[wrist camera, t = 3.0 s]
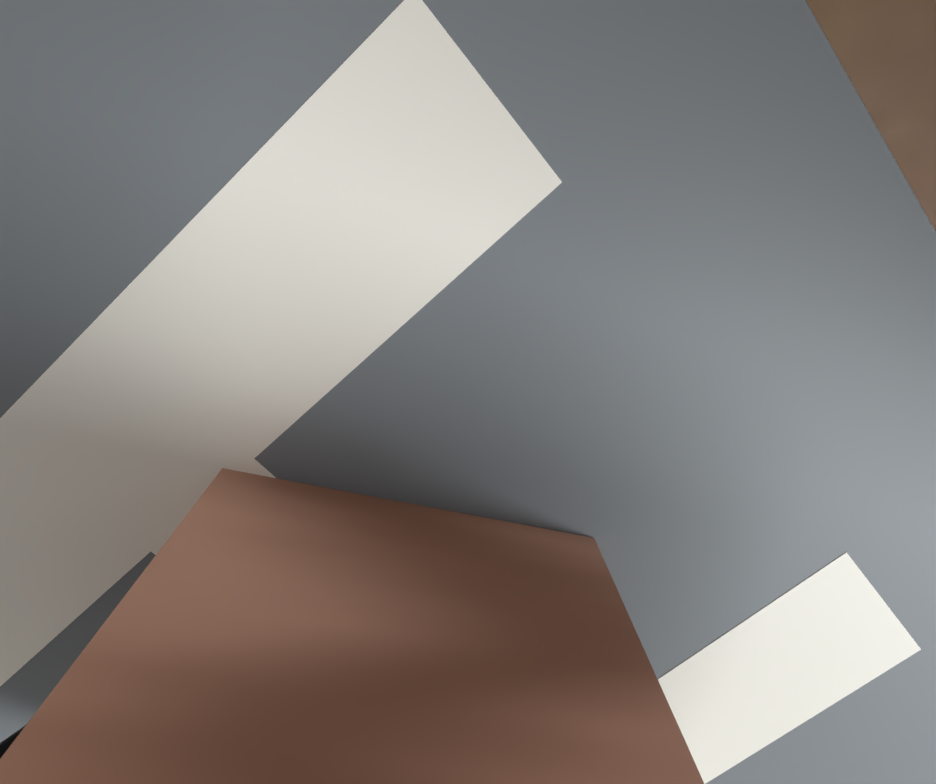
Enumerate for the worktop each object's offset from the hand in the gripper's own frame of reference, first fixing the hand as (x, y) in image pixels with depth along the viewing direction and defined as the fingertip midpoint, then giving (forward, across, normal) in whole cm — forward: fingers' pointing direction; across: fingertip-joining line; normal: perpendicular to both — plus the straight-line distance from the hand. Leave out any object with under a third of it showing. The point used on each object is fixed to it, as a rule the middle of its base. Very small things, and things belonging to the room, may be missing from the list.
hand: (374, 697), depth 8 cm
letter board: (+1, 0, 0) cm, 1 cm away
